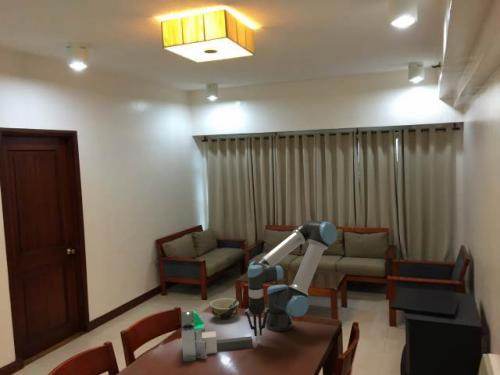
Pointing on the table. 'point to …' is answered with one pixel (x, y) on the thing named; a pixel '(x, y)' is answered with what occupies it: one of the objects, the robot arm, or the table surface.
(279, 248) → the robot arm
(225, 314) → the bowl
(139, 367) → the table surface
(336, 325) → the table surface
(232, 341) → the grey beam
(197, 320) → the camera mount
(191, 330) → the housing
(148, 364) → the table surface
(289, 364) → the table surface
